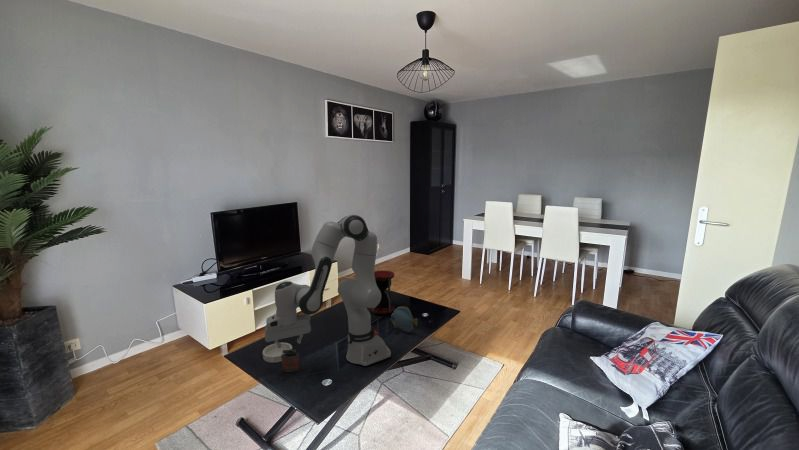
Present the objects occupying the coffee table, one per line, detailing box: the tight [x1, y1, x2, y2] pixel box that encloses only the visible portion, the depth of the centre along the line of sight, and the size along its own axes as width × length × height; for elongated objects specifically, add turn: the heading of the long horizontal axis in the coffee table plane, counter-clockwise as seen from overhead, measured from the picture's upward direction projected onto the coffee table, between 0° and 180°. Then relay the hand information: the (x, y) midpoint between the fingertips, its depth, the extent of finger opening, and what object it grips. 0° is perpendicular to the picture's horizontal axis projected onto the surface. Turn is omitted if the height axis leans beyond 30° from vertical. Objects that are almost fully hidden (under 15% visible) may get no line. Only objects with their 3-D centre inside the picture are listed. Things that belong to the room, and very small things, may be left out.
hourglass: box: [370, 270, 396, 315], centre depth 224 cm, size 16×16×25 cm
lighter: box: [281, 348, 301, 373], centre depth 157 cm, size 8×3×10 cm, turn 94°
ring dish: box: [262, 342, 293, 364], centre depth 170 cm, size 14×14×3 cm
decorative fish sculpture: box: [389, 306, 418, 333], centre depth 195 cm, size 12×20×15 cm, turn 56°
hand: (289, 345), depth 156 cm, fingers open, 7 cm apart
